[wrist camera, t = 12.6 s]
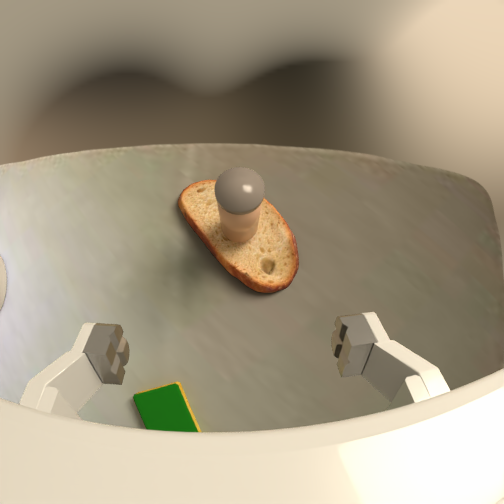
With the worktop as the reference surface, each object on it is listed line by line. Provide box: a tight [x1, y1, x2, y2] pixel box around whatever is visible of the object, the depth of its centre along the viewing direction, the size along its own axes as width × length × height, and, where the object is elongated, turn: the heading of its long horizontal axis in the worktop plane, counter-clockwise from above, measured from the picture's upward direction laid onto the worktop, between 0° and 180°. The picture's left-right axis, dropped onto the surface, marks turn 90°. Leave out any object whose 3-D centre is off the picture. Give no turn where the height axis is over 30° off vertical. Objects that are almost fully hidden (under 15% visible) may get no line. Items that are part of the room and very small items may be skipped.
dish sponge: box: [133, 382, 201, 432], centre depth 36 cm, size 7×14×2 cm, turn 21°
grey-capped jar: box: [214, 167, 265, 243], centre depth 37 cm, size 5×5×11 cm
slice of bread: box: [178, 180, 299, 293], centre depth 43 cm, size 18×18×4 cm
